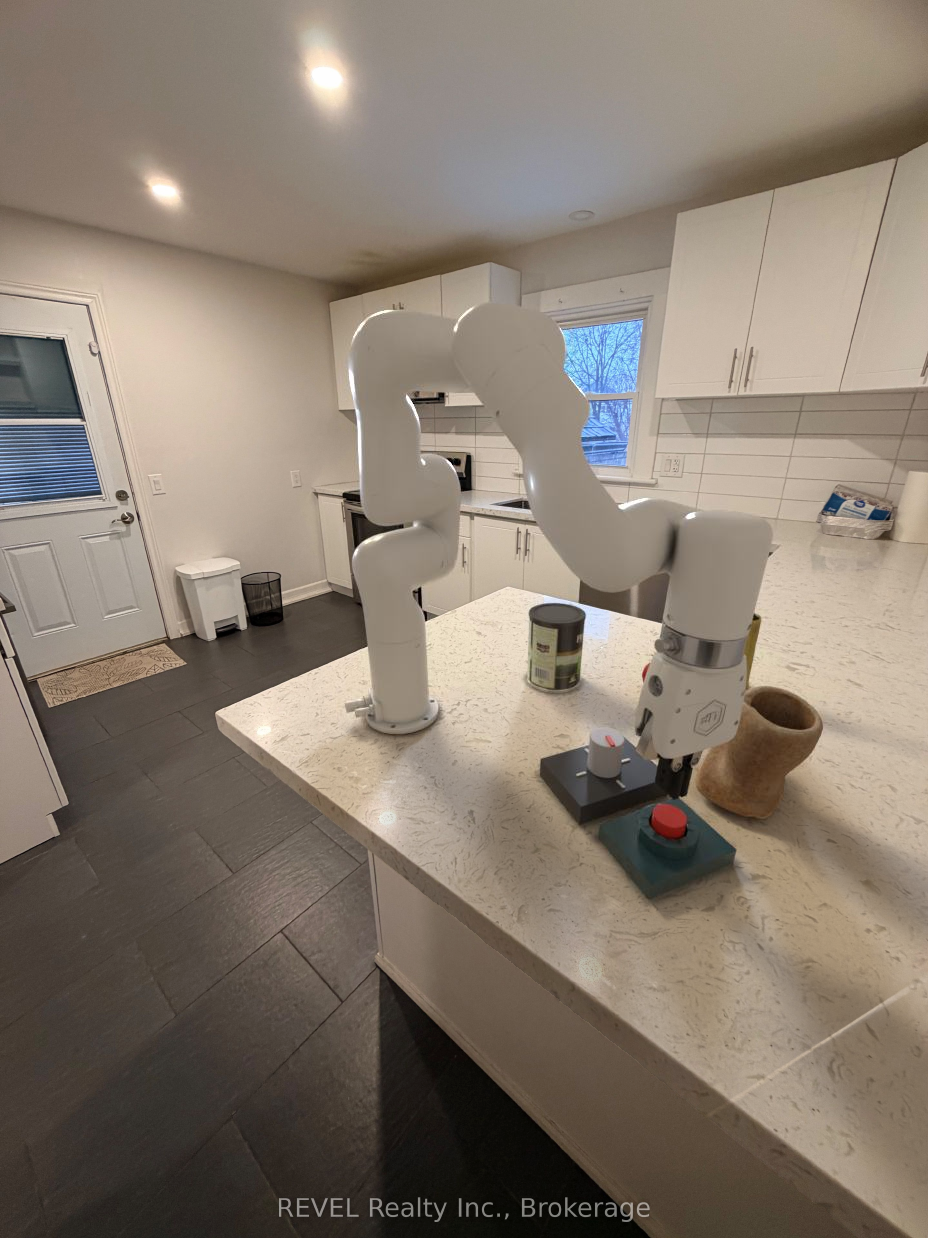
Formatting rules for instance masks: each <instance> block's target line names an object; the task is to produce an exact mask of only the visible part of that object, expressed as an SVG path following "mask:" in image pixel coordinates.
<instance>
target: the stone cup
mask: <svg viewBox="0 0 928 1238" xmlns="http://www.w3.org/2000/svg"><path fill="white" fill-rule="evenodd" d="M822 719H823V718H822V717H821V715H820V714H819V712H818V711H817V710H816V708H815V707H814V706H813V705H812V704H810V703H809V702H808V701H807V700H805V699H804V698H802V697H801V696H799V695H797V694H796V693H793V692H792V691H789V690H787V689H784V688H780V687H777V686H770V685H760V686H754V687H751V688H748V690H746V691H745V695H744V702H743V707H742V712H741V717H740V722H739V726H738V729H737V732H736V735H735V737H734V738H733V739H731V740H730V741H728V742H726V743H723V744H721V745H718V746H714V747H711V748H708V751H707V753H706V755H705V757H704V759H703V760H702V762H701V765H700V767H699V769H698V771H697V773H696V778H695V779H696V780H695V785H696V789H697V791H698V792H699V794H701V795H702V796H703V797H704V798H705V799H707V800H708V801H709V802H711V803H714V805H717V806H718V807H720V808H722V809H724V810H726V811H728V812H731V813H733V814H736V815H738V816H742V817H747V818H755V819H758V820H761V819H762V820H763V819H767V818H769V817H770V816H771V815H773V813H774V812H775V811H776V810H777V808H778V806H779V805H780V802H781V800H782V797H783V794H784V789H785V788H784V787H785V784H786V777H787V776H788V775H789V774H790V773H791V772H792V771H794V770H795V769H797V768H798V767H799V766H800V765H801V764H802V763H804V762H805V761H806V760H807V759H808V758H809V757H810V755H811V754H812V753H813V752H814V750H815V748H816V746H817V744H818V742H819V740H820V738H821V737H822V733H823V730H824V722H823V720H822Z"/></svg>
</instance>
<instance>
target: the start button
mask: <svg viewBox="0 0 928 1238" xmlns="http://www.w3.org/2000/svg"><path fill="white" fill-rule="evenodd" d="M686 823H687V818H686V815H685V814H684V813H683V812H682V811H681V810H680V809H679V808H677V807H675V806H672V805H668V804H660V805H657V806H656V807H655V808H654V809H653V814H652V820H651V825H652V828H653V829H654V831H655V832H656V833H657V834H659V835H661V836H663V837H665V838H668V839H679V838H681V837H682V836H683V835H684V833H685V828H686Z"/></svg>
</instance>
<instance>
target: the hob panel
mask: <svg viewBox="0 0 928 1238" xmlns="http://www.w3.org/2000/svg"><path fill="white" fill-rule="evenodd" d="M623 737H624V736H623ZM636 748H637V746H635V745H634V744H633V743H632V742H631V741H629V740H628V738H626V737H624V747H623V755H622V762H621V770H620V773H619V774H618V775H617V776H615V777H612V778H603V777H599V776H596V775H594V774H593V773H592V772H590V770H589V769H588V767H587V761H588V750H589V744H587V745H584V746H581V747H576V748H574V749H569V750H566V751H562V752H560V753H555V754H552V755H549V756H545V757H542V758H540V760H539V777H540V778H541V779H542V781H543V782H544V783H545V784H546V786H547V787H548V788H549V789H550V791H551V792H552V793H553V794H554V796H555V797H556V798H557V799H558V800H559V802H560V804H562V806H563V807H564V808H565V809H566V811H567V812H568V813H569V814H570V815H571V817H572V819H574V821H575V822H576V823H577V824H578V826H580V825H583V824H587V823H589V822H592V821H595V820H598V819H602V818H604V817H606V816H610V815H613V814H615V813H618V812H622V811H624V810H627V809H630V808H632V807H635V806H638V805H642V804H644V803H647V802H650V801H653V800H656V799H658V798H662V797H664V796H667V795H668V794H667V793H666V792H664V791H663V790H662V789H661V788H660V787H659V786H658V785H657V784H656V782H655V777H656V772H657V766H658V764H656V763H655V762H653V760H644V759H643V758H642V757H640V756H639V755H638V754H637V753H636Z"/></svg>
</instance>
